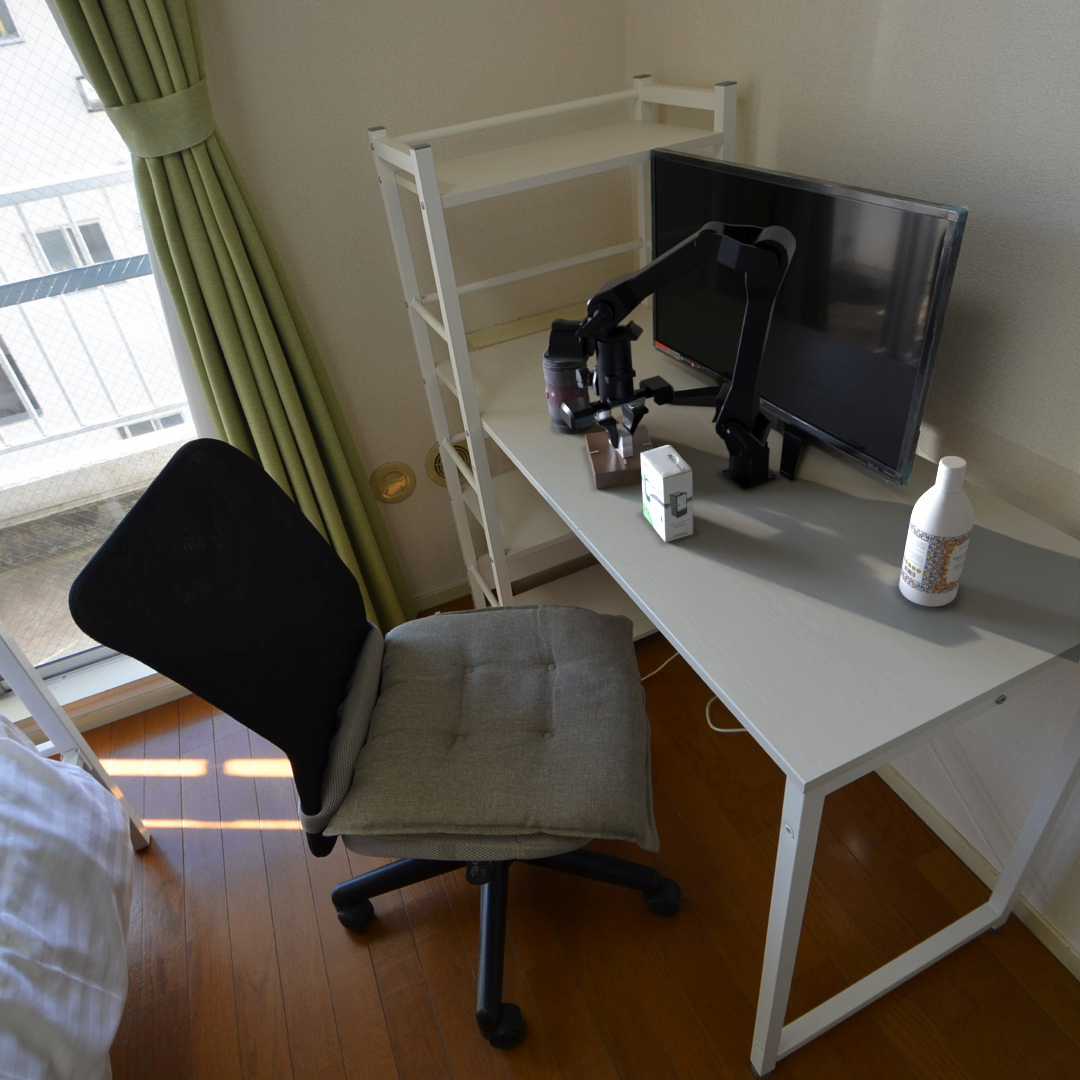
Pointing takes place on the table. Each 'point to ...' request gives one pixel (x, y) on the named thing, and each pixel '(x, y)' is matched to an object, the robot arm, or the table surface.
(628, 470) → the brown flat block
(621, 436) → the small grey box
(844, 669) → the table surface
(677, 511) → the ink box
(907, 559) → the bath foam
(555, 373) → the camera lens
